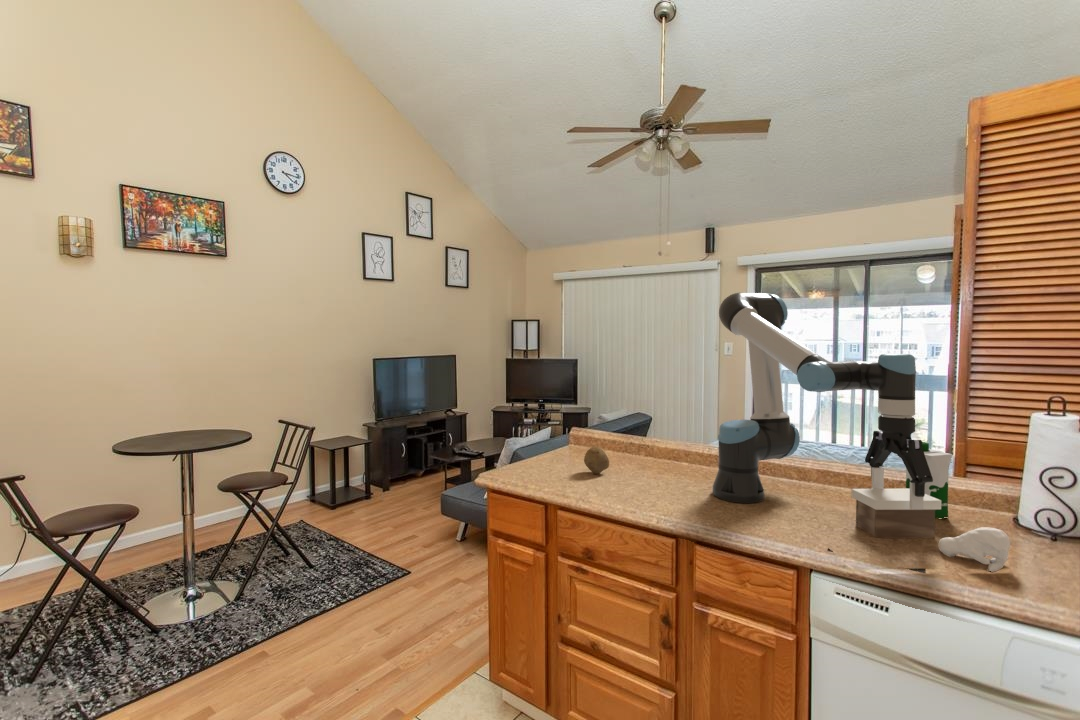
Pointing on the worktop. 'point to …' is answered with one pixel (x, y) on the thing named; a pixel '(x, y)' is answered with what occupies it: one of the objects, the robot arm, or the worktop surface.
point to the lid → (892, 499)
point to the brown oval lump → (596, 460)
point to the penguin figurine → (979, 546)
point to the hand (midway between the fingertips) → (895, 500)
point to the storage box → (895, 522)
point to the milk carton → (936, 477)
